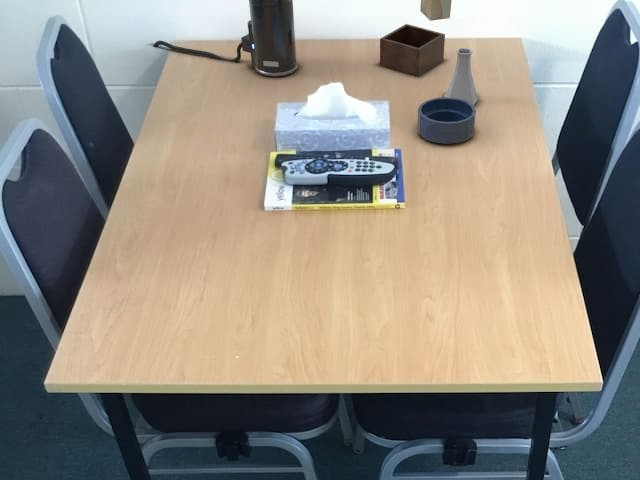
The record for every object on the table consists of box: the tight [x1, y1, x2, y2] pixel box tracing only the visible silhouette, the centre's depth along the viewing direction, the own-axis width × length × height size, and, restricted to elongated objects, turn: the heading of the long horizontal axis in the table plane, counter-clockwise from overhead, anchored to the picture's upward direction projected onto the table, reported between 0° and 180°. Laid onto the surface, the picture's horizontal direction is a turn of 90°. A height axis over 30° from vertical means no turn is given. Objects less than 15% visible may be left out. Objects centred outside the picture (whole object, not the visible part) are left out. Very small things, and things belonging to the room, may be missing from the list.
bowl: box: [416, 96, 477, 145], centre depth 170 cm, size 11×11×4 cm
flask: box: [443, 47, 479, 107], centre depth 177 cm, size 7×7×10 cm
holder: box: [379, 23, 446, 77], centre depth 191 cm, size 10×10×6 cm
